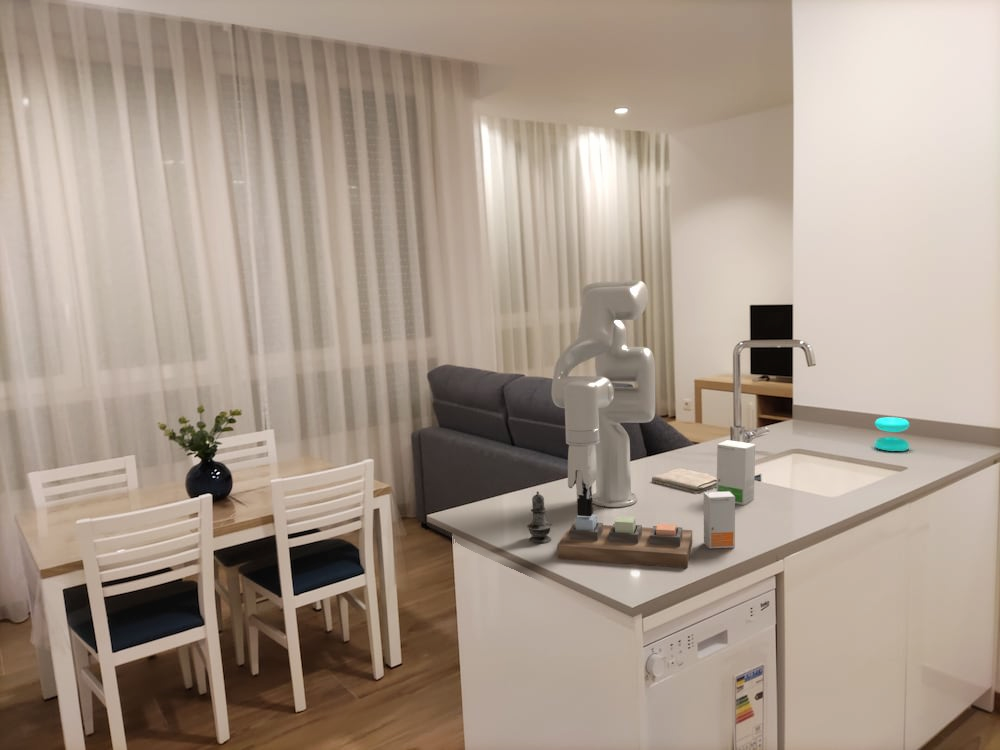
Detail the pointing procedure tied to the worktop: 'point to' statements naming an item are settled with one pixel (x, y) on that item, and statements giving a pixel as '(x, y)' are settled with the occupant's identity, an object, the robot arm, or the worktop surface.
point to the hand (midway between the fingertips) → (585, 514)
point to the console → (626, 546)
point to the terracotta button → (666, 529)
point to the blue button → (585, 523)
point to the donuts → (892, 426)
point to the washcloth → (687, 480)
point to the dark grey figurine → (539, 522)
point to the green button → (625, 524)
